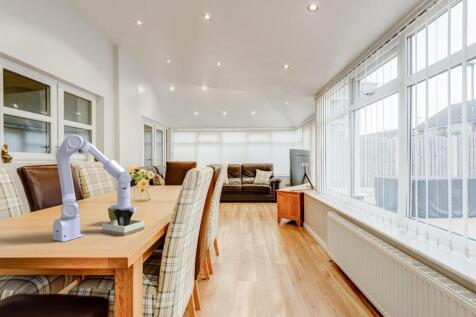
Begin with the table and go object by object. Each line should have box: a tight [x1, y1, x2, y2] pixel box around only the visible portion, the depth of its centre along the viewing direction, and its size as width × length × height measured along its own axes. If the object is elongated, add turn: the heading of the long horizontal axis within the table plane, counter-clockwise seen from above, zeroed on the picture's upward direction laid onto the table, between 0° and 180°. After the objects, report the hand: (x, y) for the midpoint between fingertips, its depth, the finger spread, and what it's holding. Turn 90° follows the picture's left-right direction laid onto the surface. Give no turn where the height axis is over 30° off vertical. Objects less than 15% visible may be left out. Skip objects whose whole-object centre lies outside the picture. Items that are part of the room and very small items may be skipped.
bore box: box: [101, 218, 145, 237], centre depth 123 cm, size 12×14×4 cm
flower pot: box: [107, 206, 117, 222], centre depth 136 cm, size 9×9×9 cm
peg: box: [120, 216, 124, 226], centre depth 123 cm, size 3×3×6 cm
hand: (123, 225), depth 123 cm, fingers closed on peg, 3 cm apart
